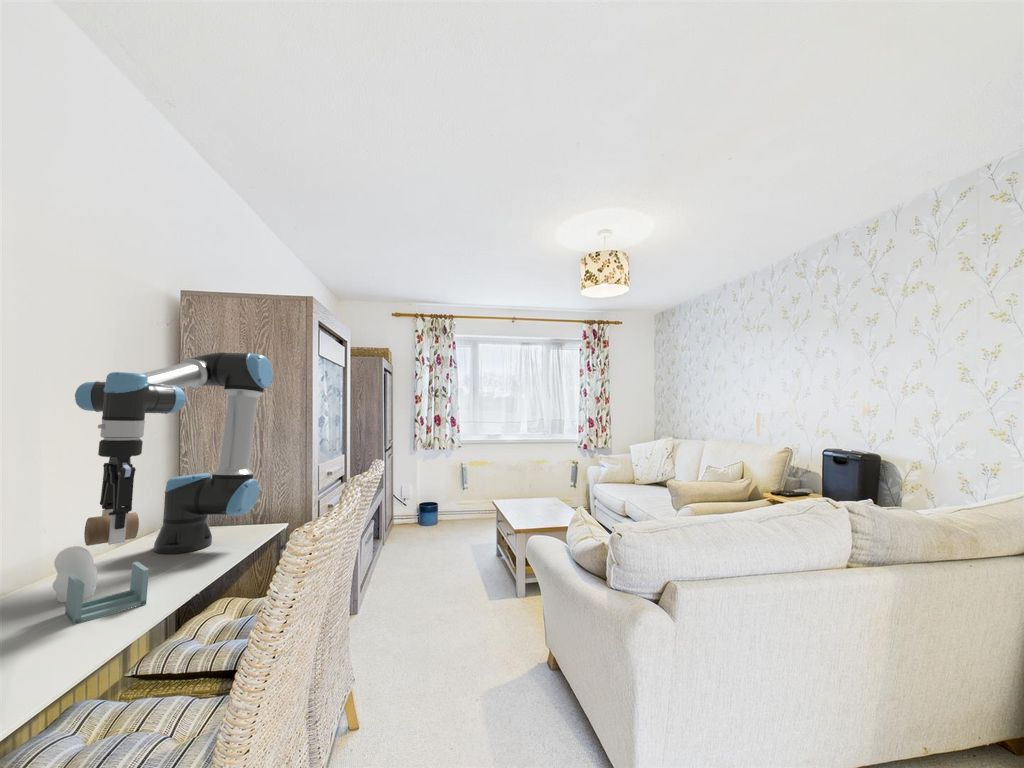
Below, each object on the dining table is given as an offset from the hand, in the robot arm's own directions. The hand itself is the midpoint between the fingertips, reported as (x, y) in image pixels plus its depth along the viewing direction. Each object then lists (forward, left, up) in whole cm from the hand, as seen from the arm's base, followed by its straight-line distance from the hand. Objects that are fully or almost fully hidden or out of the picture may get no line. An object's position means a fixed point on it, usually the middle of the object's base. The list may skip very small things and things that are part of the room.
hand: (112, 540), depth 99 cm
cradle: (0, 0, -15) cm, 15 cm away
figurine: (+3, -13, -15) cm, 20 cm away
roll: (0, 0, +3) cm, 3 cm away
